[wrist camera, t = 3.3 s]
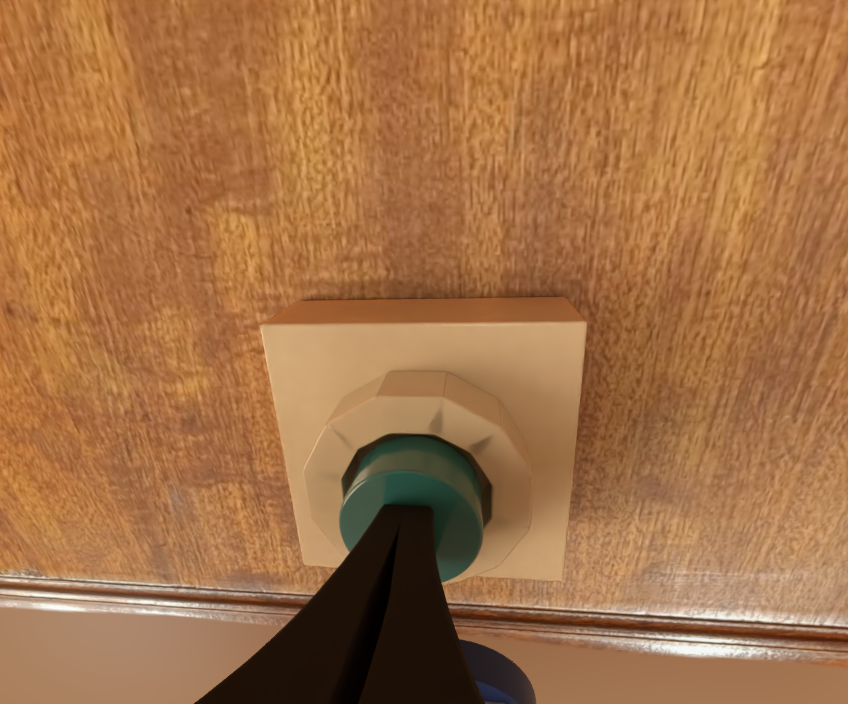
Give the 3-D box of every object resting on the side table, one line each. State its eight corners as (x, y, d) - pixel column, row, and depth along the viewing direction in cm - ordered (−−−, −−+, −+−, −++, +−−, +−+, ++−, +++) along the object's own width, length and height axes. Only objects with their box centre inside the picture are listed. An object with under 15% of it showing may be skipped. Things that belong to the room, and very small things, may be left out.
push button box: (549, 520, 19) (573, 629, 14) (328, 510, 20) (283, 608, 15) (566, 296, 15) (606, 342, 11) (297, 300, 16) (227, 343, 12)
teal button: (482, 544, 14) (483, 592, 12) (360, 537, 14) (346, 582, 13) (482, 436, 12) (484, 473, 11) (348, 433, 13) (329, 468, 11)
